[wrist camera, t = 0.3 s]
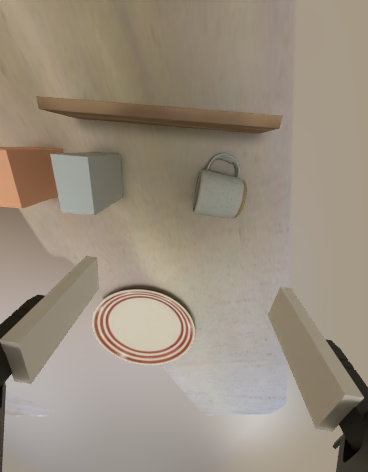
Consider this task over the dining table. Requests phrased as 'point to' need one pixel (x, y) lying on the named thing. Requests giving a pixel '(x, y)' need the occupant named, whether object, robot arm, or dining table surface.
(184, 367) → the dining table surface
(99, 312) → the dinner plate
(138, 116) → the brown wooden board
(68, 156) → the light grey rectangular block
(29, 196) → the tan rectangular block
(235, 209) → the ceramic mug
